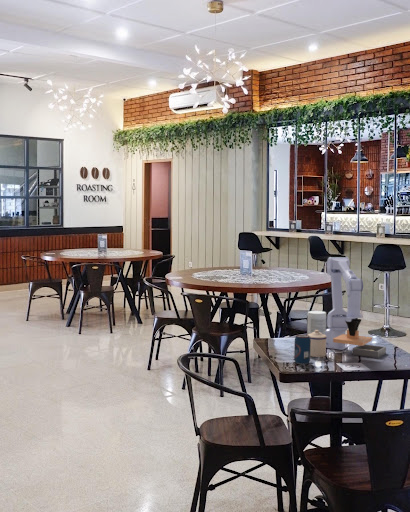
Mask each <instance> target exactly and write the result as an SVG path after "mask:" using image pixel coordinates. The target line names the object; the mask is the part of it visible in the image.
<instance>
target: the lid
mask: <svg viewBox="0 0 410 512" xmlns="http://www.w3.org/2000/svg"><path fill="white" fill-rule="evenodd" d="M372 341H373V337H372V336H366V335H365V336H363V335H360V331H359V330H356V332H355V336H350V334H349V329H347V330H346V334H342V335H340V336H338V337H336V338H333V342H335V343H343V344H345V345H353V346H358V345H360V346H363V345H365V344H366V345H368V344H369V343H371V342H372Z"/></svg>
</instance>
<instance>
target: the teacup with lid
mask: <svg viewBox="0 0 410 512" xmlns="http://www.w3.org/2000/svg"><path fill="white" fill-rule="evenodd" d="M308 335H309V337H310V340H311V348H310V357H311V358H312V357H313V358H322V357H326V353H327V349H326V338H327V337H326V335H324V334H322V333H320V332H319V330H315V332H313V333H311V334H308Z"/></svg>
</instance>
